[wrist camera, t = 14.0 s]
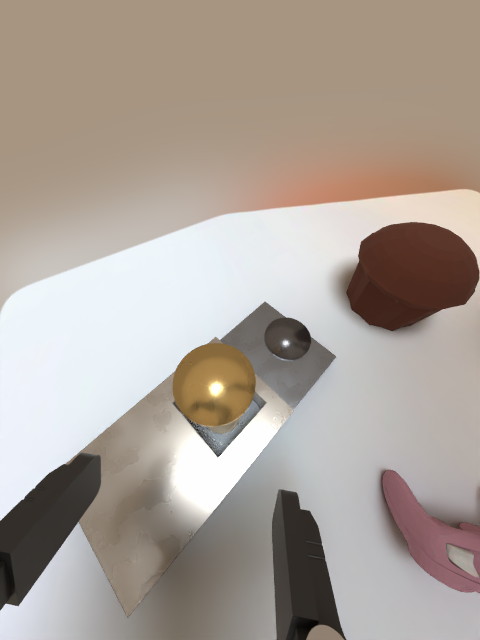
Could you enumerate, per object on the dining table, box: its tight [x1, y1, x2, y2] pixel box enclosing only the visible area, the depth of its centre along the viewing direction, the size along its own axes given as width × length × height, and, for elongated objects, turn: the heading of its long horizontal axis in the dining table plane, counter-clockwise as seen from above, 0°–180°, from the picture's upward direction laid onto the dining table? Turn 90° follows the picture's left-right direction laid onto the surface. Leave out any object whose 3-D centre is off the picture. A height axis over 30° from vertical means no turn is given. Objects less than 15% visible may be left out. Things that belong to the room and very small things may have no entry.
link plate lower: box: [176, 302, 336, 458], centre depth 23 cm, size 17×10×2 cm, turn 136°
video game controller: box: [382, 470, 480, 593], centre depth 16 cm, size 10×5×7 cm, turn 80°
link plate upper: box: [66, 337, 294, 617], centre depth 19 cm, size 17×10×3 cm, turn 136°
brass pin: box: [172, 343, 256, 433], centre depth 18 cm, size 5×5×10 cm
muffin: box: [346, 222, 479, 331], centre depth 26 cm, size 12×11×10 cm
